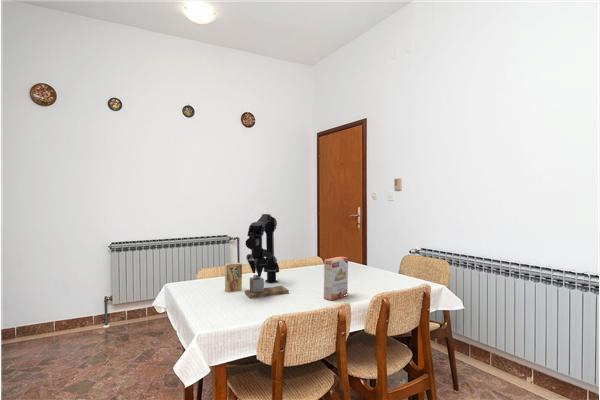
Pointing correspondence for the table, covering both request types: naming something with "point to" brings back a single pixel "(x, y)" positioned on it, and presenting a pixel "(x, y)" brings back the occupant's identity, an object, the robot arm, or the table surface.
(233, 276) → the candy box
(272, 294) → the brown flat block
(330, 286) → the cracker box
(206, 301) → the table surface
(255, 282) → the metal cube with knob
